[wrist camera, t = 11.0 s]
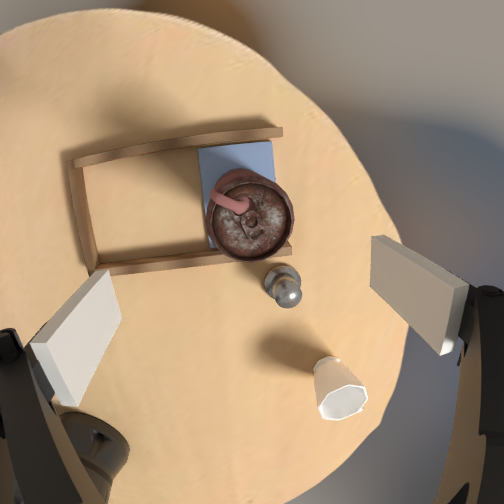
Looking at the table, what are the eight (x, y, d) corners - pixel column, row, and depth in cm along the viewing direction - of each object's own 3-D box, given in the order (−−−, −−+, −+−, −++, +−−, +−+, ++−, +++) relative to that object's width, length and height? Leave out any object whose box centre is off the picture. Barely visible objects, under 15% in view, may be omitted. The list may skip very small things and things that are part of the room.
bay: (95, 272, 35) (89, 278, 33) (74, 160, 31) (66, 161, 29) (288, 249, 36) (292, 255, 34) (279, 128, 32) (282, 126, 30)
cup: (331, 340, 41) (350, 375, 33) (367, 370, 44) (387, 404, 36) (294, 371, 42) (306, 409, 34) (333, 398, 45) (349, 433, 37)
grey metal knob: (265, 300, 38) (270, 316, 34) (262, 267, 37) (267, 280, 33) (300, 295, 38) (308, 310, 34) (299, 262, 37) (307, 275, 33)
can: (225, 157, 32) (226, 158, 19) (277, 183, 33) (313, 203, 20) (201, 207, 33) (186, 242, 20) (252, 231, 35) (270, 280, 22)
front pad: (210, 247, 35) (210, 248, 35) (198, 148, 32) (197, 149, 31) (279, 239, 36) (280, 240, 35) (271, 141, 32) (271, 141, 32)
